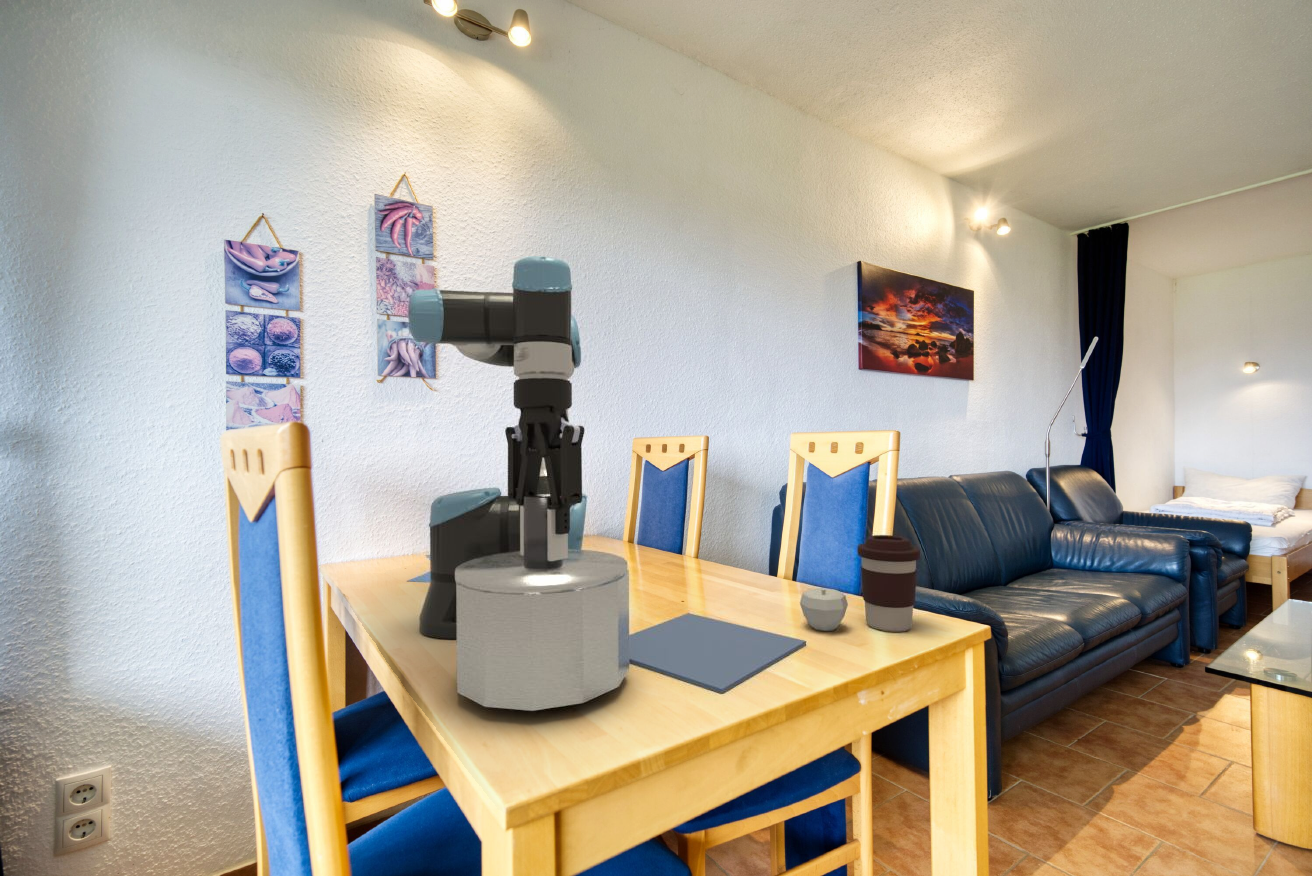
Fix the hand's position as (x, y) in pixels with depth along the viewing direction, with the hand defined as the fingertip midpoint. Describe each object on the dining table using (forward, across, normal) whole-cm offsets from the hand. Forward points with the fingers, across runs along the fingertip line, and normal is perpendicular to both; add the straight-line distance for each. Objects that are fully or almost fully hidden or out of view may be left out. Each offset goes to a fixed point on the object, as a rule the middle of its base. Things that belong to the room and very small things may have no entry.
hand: (543, 556), depth 78 cm
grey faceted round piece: (+17, +18, +45) cm, 51 cm away
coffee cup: (+17, +26, +53) cm, 61 cm away
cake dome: (+15, 0, 0) cm, 15 cm away
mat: (+17, +8, +24) cm, 30 cm away
